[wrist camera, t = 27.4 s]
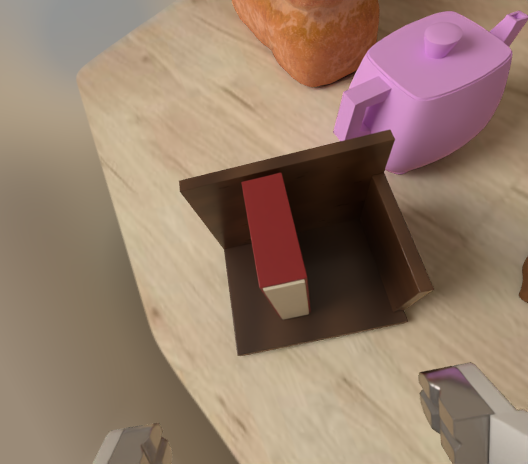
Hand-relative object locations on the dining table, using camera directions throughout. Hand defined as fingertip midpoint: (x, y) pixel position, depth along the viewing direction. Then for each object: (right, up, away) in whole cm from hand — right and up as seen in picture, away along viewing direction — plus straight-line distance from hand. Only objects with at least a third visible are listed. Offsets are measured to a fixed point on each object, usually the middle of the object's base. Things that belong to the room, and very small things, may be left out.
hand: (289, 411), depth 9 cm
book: (+2, +1, +22) cm, 22 cm away
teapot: (+17, +17, +28) cm, 37 cm away
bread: (+5, +37, +39) cm, 54 cm away
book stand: (+4, +1, +22) cm, 22 cm away
